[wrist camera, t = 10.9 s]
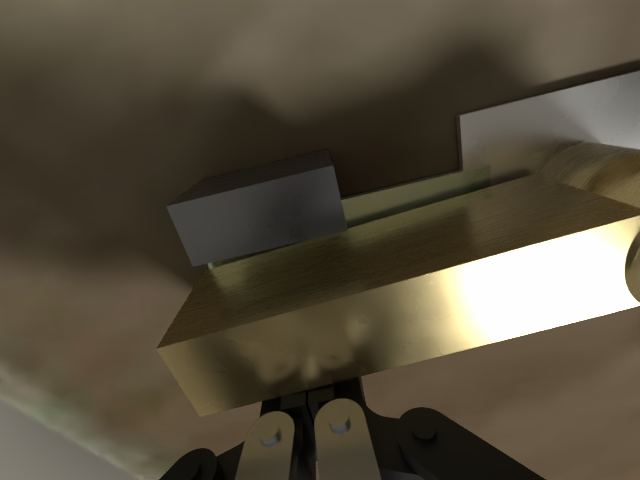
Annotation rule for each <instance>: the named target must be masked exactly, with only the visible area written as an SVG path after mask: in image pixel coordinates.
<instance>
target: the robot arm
mask: <svg viewBox="0 0 640 480" xmlns="http://www.w3.org/2000/svg"><path fill="white" fill-rule="evenodd" d="M316 461H318V469H319V479H320V480H546V479H544V478H542V477H541V476H539V475H538V474H536V473H534V472H533V471H531V470H530V469H528V468H527V467H525V466H523V465H522V464H520V463H519V462H517V461H516V460H514V459H512V458H511V457H509V456H508V455H506V454H505V453H503V452H501V451H500V450H498V449H497V448H495V447H494V446H492V445H490V444H489V443H487V442H486V441H484V440H482V439H481V438H479V437H478V436H476V435H475V434H473V433H471V432H470V431H468V430H467V429H465V428H464V427H462V426H460V425H459V424H457V423H456V422H454V421H453V420H451V419H449V418H448V417H446V416H445V415H443V414H441V413H440V412H438V411H436V410H434V409H430V408H424V407H419V408H414V409H411V410H408V411H407V412H405V413H404V414H403V415H402V416H401V417H400V419H397V418H389V417H383V416H380V415H378V414H376V413H374V412H373V411H371V410H370V409H369V408H368V407H367V406H366V401H365V396H364V391H363V385H362V380H361V376H359V377H356V378H352V379H348V380H344V381H340V382H336V383H332V384H328V385H324V386H320V387H316V388H312V389H308V390H304V391H300V392H296V393H292V394H288V395H285V396H281V397H277V398H273V399H269V400H265V401H262V406H261V413H260V418H258V419H257V420H256V421H255V422H254V423H253V424H252V426H251V427H250V429H249V430H248V432H247V435H246V439H245V441H244V442H242V443H241V444H239V445H238V446H236V447H234V448H232V449H230V450H228V451H226V452H224V453H223V454H221V455H219V456H217V457H216V456H215V454H214V453H213V452H212V451H211V450H209V449H206V448H200V449H195V450H193V451H190V452H188V453H187V454H185V455H184V456H182V457H181V458H180V459H179V460H178V461H177V462H176V463H175V464H174V465H173V466H172V467H171V468H170V469H169V470H168V471H167V472H166V473H165V474H164V475H163V476H162V477H161V478H160V479H159V480H316Z"/></svg>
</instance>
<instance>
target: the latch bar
mask: <svg viewBox="0 0 640 480" xmlns="http://www.w3.org/2000/svg"><path fill="white" fill-rule="evenodd" d="M347 230H348V231H345V232H341V233H336V234H332V235H328V236H323V237H319V238H315V239H311V240H307V241H304V242H300V243H297V244H294V245H290V246H287V247H283V248H280V249H277V250H273V251H270V252H266V253H263V254H260V255H256V256H253V257H249V258H246V259H243V260H239V261H236V262H232V263H229V264H225V265H222V266H219V267H215V268H212V269H208V270H205V271H203V273H202V274H201V276H200V278H199V279H198V281H197V283H196V284H195V286H194V288H193V289H192V291H191V292H190V294H189V296H188V297H187V299H186V301H185V302H184V304H183V306H182V307H181V309H180V311H179V312H178V314H177V315H176V317H175V319H174V320H173V322H172V324H171V325H170V327H169V329H168V330H167V332H166V333H165V335H164V337H163V338H162V340H161V342H160V343H159V345H158V347H157V348H156V349H157V351H158V352H159V354H160V356H161V357H162V359H163V360H164V362H165V363H166V365H167V366H168V368H169V370H170V371H171V373H172V374H173V376H174V377H175V379H176V380H177V382H178V384H179V385H180V387H181V388H182V390H183V391H184V393H185V394H186V396H187V398H188V399H189V401H190V402H191V404H192V405H193V407H194V408H195V410H196V412H197V413H198V415H199V416H200V417H202V416H206V415H210V414H214V413H217V412H221V411H225V410H229V409H233V408H237V407H241V406H245V405H249V404H253V403H257V402H261V401H265V400H269V399H273V398H277V397H281V396H285V395H288V394H292V393H296V392H300V391H304V390H308V389H312V388H316V387H320V386H324V385H328V384H332V383H336V382H340V381H344V380H348V379H352V378H356V377H359V376H363V375H367V374H371V373H375V372H379V371H383V370H387V369H391V368H395V367H399V366H403V365H407V364H411V363H415V362H419V361H423V360H427V359H430V358H434V357H438V356H442V355H446V354H450V353H454V352H458V351H462V350H466V349H470V348H474V347H478V346H482V345H486V344H490V343H494V342H498V341H501V340H505V339H509V338H513V337H517V336H521V335H525V334H529V333H533V332H537V331H541V330H545V329H549V328H553V327H557V326H561V325H565V324H569V323H572V322H576V321H580V320H584V319H588V318H592V317H596V316H600V315H604V314H608V313H612V312H616V311H620V310H624V309H628V308H632V307H636V306H640V149H635V148H628V147H621V146H614V145H607V144H601V143H583V144H578V145H574V146H572V147H569V148H566V149H564V150H562V151H560V152H559V153H557V154H555V155H554V156H552V157H551V158H550V159H549V160H547V161H546V162H545V163H544V164H543V165H542V166H541V167H540V168H539V169H538V170H537V171H536V173H535V174H532V175H529V176H525V177H522V178H519V179H515V180H512V181H508V182H505V183H502V184H498V185H495V186H491V187H488V188H485V189H481V190H478V191H474V192H471V193H468V194H464V195H461V196H457V197H454V198H450V199H447V200H444V201H440V202H437V203H433V204H430V205H427V206H423V207H420V208H416V209H413V210H410V211H406V212H403V213H399V214H396V215H393V216H389V217H386V218H382V219H379V220H375V221H372V222H369V223H365V224H362V225H358V226H355V227H352V228H348V229H347Z"/></svg>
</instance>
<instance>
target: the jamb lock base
mask: <svg viewBox="0 0 640 480" xmlns="http://www.w3.org/2000/svg"><path fill="white" fill-rule="evenodd" d="M456 125H457V140H458V155H459V170H455V171H451V172H447V173H442V174H438V175H434V176H430V177H426V178H421V179H417V180H413V181H409V182H405V183H401V184H396V185H392V186H388V187H384V188H380V189H375V190H371V191H367V192H363V193H359V194H355V195H350V196H346V197H342V198H340V193H339V189H338V184H337V179H336V175H335V170H334V166H333V163H332V160H331V158H330V155H329V153H328V150H327V149H324V150H320V151H316V152H312V153H308V154H304V155H300V156H296V157H292V158H288V159H284V160H280V161H276V162H272V163H268V164H264V165H260V166H256V167H252V168H248V169H244V170H240V171H236V172H232V173H228V174H224V175H220V176H216V177H212V178H208V179H204V180H201V181H199V182H198V183H197V184H195V185H194V186H193V187H191V188H190V189H189V190H187V191H186V192H185V193H183V194H182V195H181V196H179V197H178V198H177V199H175V200H174V201H173V202H171V203H170V204H169V205H167V206H166V208H167V210H168V212H169V214H170V217H171V219H172V221H173V223H174V226H175V228H176V230H177V232H178V235H179V237H180V239H181V241H182V244H183V246H184V248H185V250H186V253H187V255H188V257H189V259H190V262H191V264H192V266H193V267H194V266H199V265H203V264H208V266H209V269H212V268H215V267H219V266H222V265H225V264H229V263H232V262H236V261H239V260H243V259H246V258H249V257H253V256H256V255H260V254H263V253H266V252H270V251H273V250H277V249H280V248H283V247H287V246H290V245H294V244H297V243H300V242H304V241H307V240H311V239H315V238H319V237H323V236H328V235H332V234H336V233H341V232H345V231H348V230H347V229H348V228H352V227H355V226H358V225H362V224H365V223H369V222H372V221H375V220H379V219H382V218H386V217H389V216H393V215H396V214H399V213H403V212H406V211H410V210H413V209H416V208H420V207H423V206H427V205H430V204H433V203H437V202H440V201H444V200H447V199H450V198H454V197H457V196H461V195H464V194H468V193H471V192H474V191H478V190H481V189H485V188H488V187H491V186H495V185H498V184H502V183H505V182H508V181H512V180H515V179H519V178H522V177H525V176H529V175H532V174H535V173H536V171H537V170H538V169H539V168H540V167H541V166H542V165H543V164H544V163H545V162H546V161H547V160H549V159H550V158H551V157H552V156H554V155H555V154H557V153H559V152H560V151H562V150H564V149H566V148H569V147H572V146H574V145H578V144H583V143H601V144H607V145H614V146H621V147H628V148H635V149H640V69H639V70H635V71H631V72H627V73H623V74H619V75H615V76H611V77H607V78H603V79H599V80H595V81H591V82H587V83H583V84H579V85H575V86H571V87H567V88H563V89H559V90H555V91H551V92H547V93H543V94H539V95H535V96H531V97H527V98H523V99H519V100H515V101H511V102H507V103H503V104H499V105H495V106H491V107H487V108H483V109H479V110H475V111H471V112H467V113H463V114H459V115H456Z"/></svg>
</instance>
